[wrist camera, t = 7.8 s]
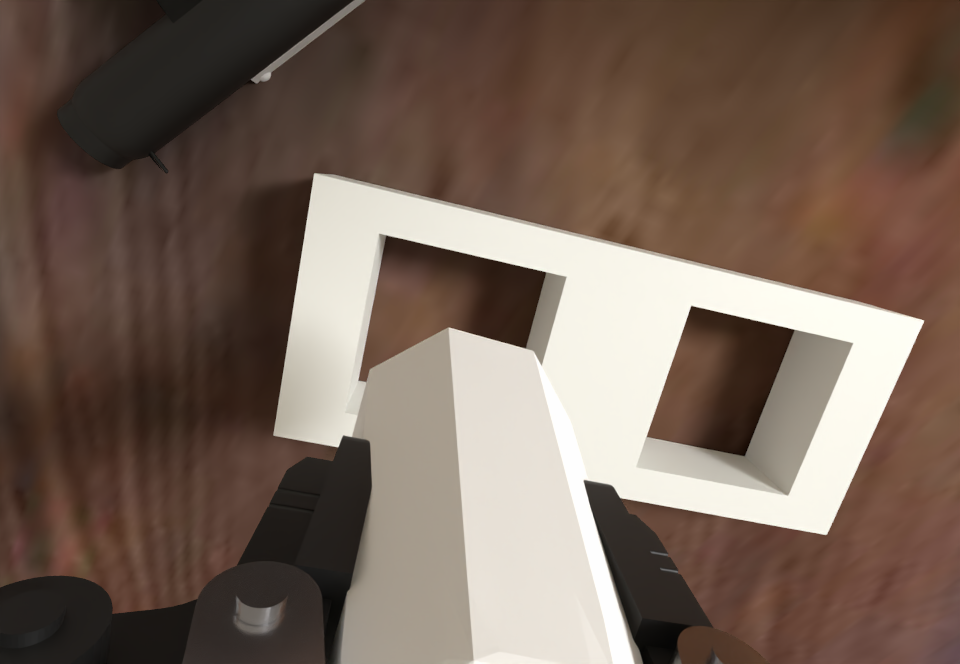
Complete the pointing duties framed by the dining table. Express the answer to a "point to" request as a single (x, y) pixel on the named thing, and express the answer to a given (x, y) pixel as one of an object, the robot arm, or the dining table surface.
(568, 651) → the salt shaker
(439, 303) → the dining table surface
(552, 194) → the dining table surface
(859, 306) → the rail
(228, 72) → the door handle
